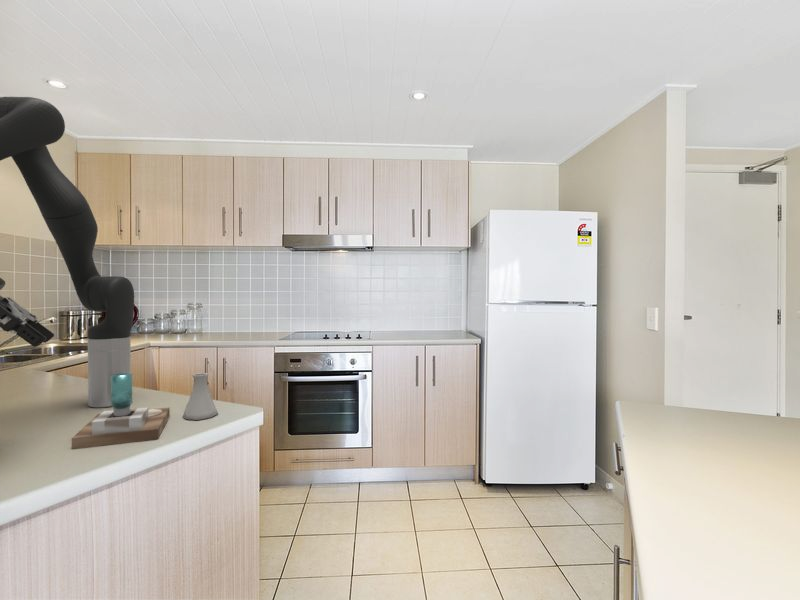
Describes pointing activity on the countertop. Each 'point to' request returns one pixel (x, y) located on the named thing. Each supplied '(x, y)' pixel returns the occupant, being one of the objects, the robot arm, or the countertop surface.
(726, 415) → the countertop surface
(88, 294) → the robot arm
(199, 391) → the flask
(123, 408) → the peg
